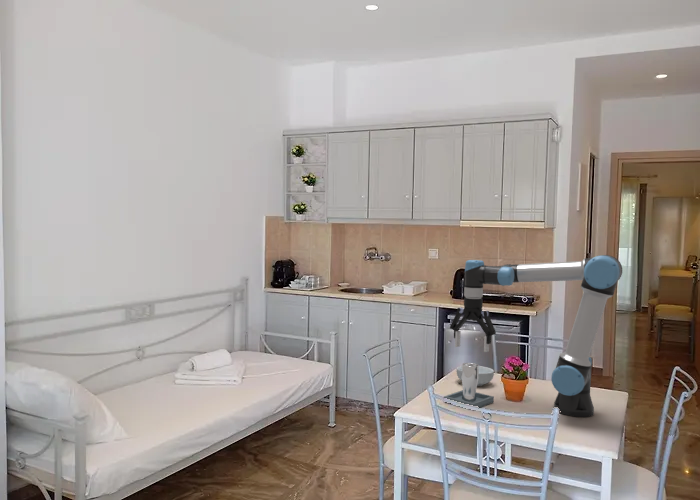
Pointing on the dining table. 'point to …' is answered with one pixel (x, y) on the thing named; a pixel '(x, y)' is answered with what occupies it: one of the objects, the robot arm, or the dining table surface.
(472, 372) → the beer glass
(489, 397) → the tray
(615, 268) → the robot arm
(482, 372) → the cereal bowl
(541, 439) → the dining table surface
